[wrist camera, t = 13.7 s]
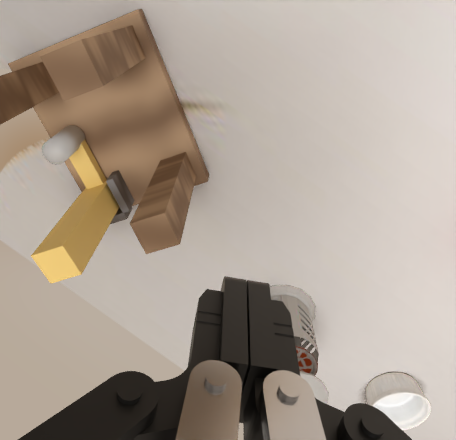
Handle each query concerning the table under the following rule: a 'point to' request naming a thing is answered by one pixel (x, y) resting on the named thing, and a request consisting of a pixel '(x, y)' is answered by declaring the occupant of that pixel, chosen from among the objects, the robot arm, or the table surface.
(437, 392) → the table surface
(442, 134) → the table surface
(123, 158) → the wooden pillar stand
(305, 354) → the french press
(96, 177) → the hinged leg
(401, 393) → the ramekin
